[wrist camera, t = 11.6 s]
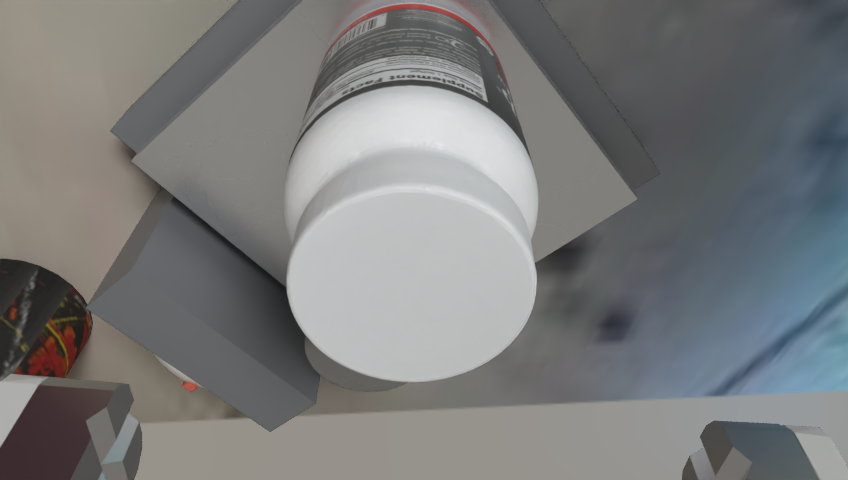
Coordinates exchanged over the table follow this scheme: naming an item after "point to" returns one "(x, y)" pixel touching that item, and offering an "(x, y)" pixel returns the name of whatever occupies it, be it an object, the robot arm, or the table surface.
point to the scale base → (236, 272)
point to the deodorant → (39, 321)
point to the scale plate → (285, 109)
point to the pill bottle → (411, 200)
